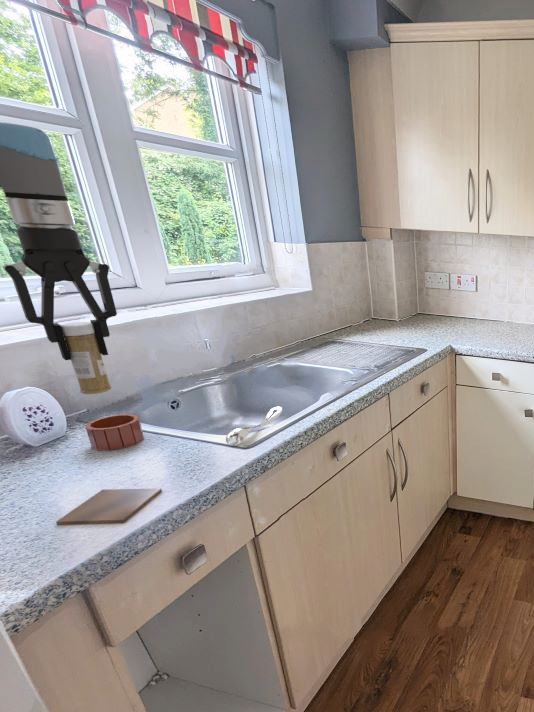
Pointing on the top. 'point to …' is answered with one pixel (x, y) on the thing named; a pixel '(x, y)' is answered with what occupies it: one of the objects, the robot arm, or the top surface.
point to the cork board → (110, 506)
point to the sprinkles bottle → (86, 357)
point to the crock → (114, 432)
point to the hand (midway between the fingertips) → (85, 355)
